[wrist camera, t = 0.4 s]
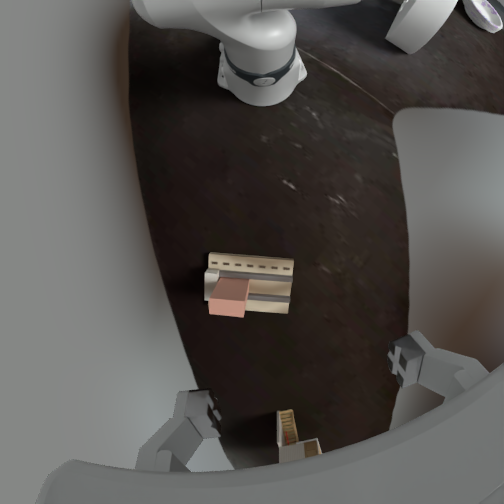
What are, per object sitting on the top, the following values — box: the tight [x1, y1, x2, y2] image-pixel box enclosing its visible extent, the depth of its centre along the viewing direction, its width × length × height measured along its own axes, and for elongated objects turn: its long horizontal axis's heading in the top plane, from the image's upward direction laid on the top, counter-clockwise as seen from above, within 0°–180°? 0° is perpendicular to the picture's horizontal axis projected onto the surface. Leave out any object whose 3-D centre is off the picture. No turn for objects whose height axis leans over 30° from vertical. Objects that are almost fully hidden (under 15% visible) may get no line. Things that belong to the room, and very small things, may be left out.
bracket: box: [385, 0, 458, 54], centre depth 30 cm, size 7×21×25 cm, turn 153°
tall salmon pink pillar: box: [209, 277, 250, 317], centre depth 52 cm, size 3×6×12 cm, turn 86°
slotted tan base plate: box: [205, 252, 294, 313], centre depth 57 cm, size 12×18×5 cm
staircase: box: [277, 409, 322, 463], centre depth 55 cm, size 10×16×29 cm, turn 18°
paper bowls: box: [463, 0, 503, 33], centre depth 31 cm, size 15×15×8 cm
